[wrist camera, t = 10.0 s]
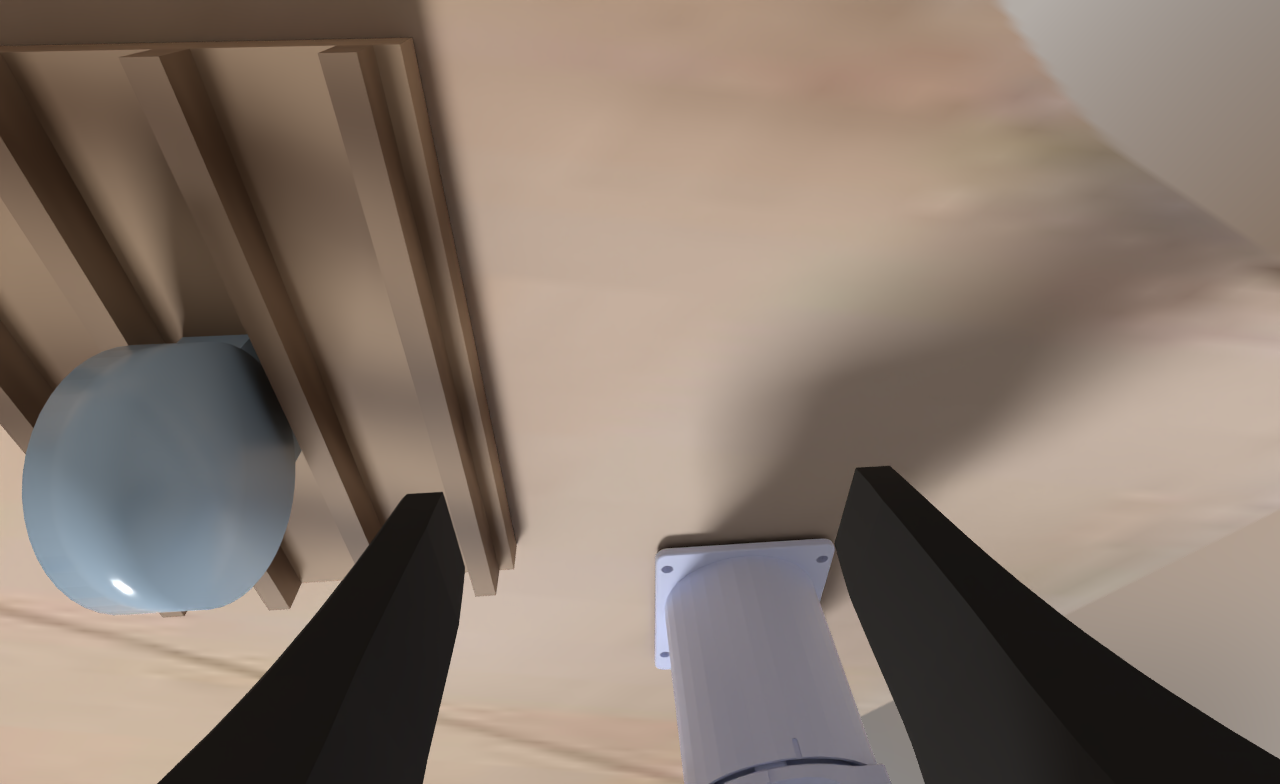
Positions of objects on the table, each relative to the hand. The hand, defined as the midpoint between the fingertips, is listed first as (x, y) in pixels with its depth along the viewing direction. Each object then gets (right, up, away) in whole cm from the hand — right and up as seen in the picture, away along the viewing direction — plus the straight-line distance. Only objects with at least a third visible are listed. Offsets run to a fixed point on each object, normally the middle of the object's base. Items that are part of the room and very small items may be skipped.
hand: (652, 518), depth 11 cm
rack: (-13, +3, +9) cm, 16 cm away
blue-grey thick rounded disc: (-13, +2, +8) cm, 15 cm away
